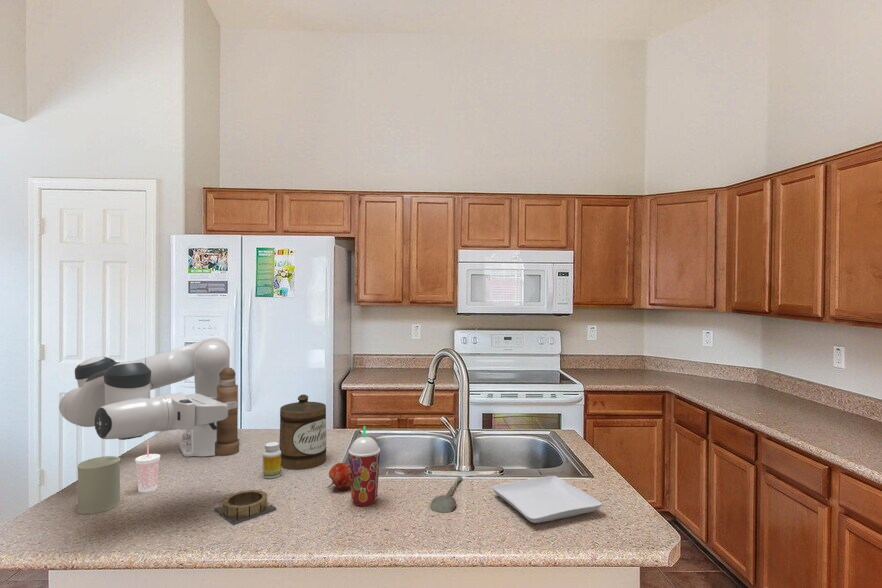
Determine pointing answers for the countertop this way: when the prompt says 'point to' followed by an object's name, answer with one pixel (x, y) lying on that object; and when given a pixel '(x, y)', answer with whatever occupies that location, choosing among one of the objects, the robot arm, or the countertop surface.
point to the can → (98, 484)
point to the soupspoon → (445, 501)
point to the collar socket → (244, 506)
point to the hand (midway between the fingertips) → (230, 402)
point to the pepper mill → (229, 426)
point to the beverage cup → (147, 471)
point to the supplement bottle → (271, 460)
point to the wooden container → (302, 434)
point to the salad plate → (546, 498)
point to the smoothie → (364, 470)
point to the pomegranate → (340, 475)
